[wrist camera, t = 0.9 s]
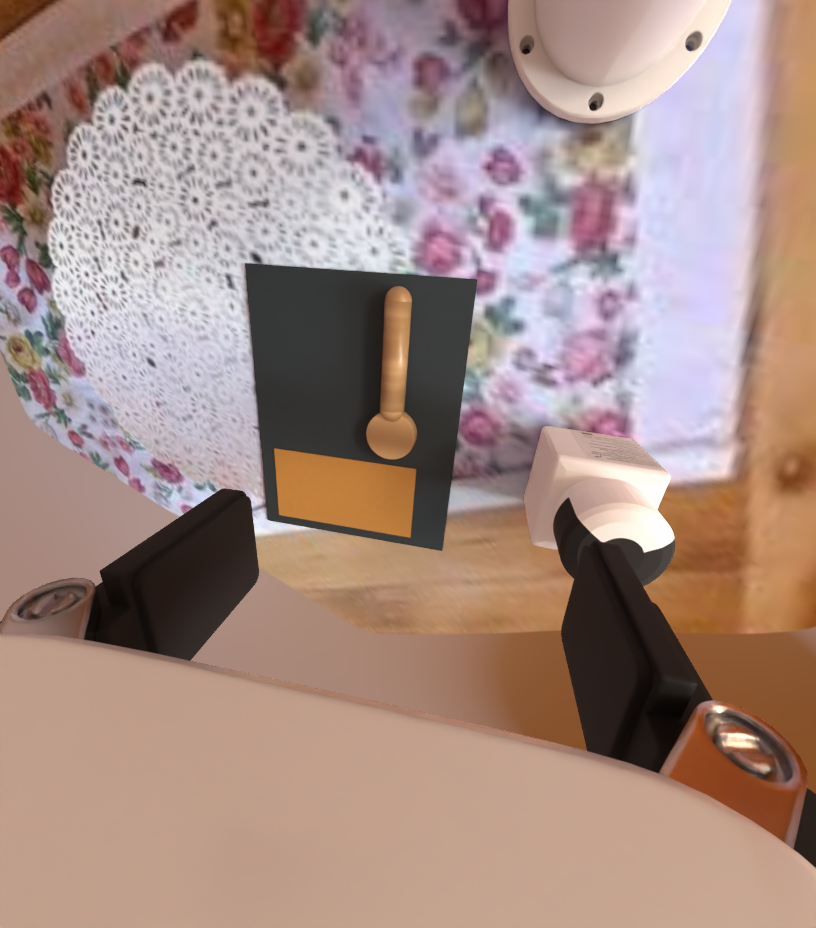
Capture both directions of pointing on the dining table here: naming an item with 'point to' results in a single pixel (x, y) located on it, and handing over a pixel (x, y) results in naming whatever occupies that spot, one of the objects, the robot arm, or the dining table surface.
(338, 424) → the mat
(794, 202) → the dining table surface
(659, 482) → the container
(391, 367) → the wooden rod with disc
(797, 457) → the dining table surface
